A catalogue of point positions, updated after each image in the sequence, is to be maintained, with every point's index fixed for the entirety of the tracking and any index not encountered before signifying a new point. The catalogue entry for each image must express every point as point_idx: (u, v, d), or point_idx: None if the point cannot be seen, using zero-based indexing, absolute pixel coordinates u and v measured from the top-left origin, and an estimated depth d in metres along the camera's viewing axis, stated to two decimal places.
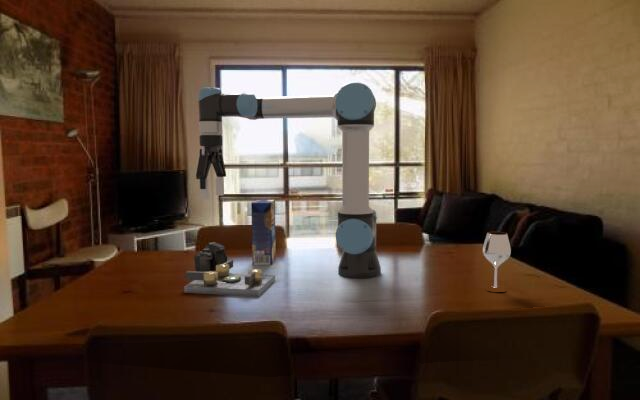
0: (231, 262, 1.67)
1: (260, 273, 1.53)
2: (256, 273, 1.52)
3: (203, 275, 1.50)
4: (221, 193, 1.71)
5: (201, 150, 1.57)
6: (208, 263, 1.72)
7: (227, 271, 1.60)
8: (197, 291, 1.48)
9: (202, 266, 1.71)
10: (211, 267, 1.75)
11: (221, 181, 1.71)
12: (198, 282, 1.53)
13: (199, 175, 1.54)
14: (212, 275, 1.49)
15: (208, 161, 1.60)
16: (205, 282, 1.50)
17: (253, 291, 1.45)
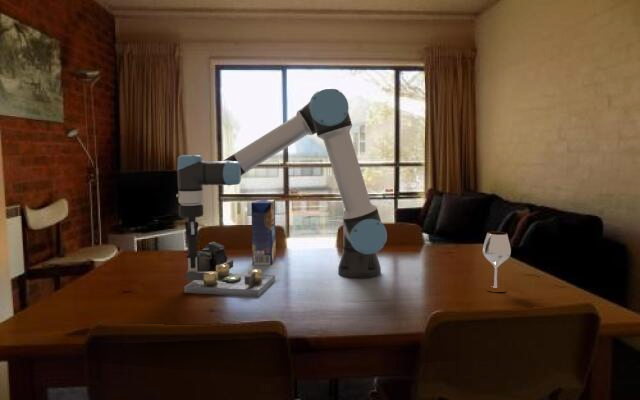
0: (231, 262, 1.67)
1: (260, 273, 1.53)
2: (256, 273, 1.52)
3: (203, 275, 1.50)
4: None
5: (190, 231, 1.47)
6: (208, 263, 1.72)
7: (227, 271, 1.60)
8: (197, 291, 1.48)
9: (202, 266, 1.72)
10: (211, 267, 1.75)
11: None
12: (198, 282, 1.53)
13: (192, 255, 1.50)
14: (212, 275, 1.49)
15: None
16: (205, 282, 1.50)
17: (253, 291, 1.45)
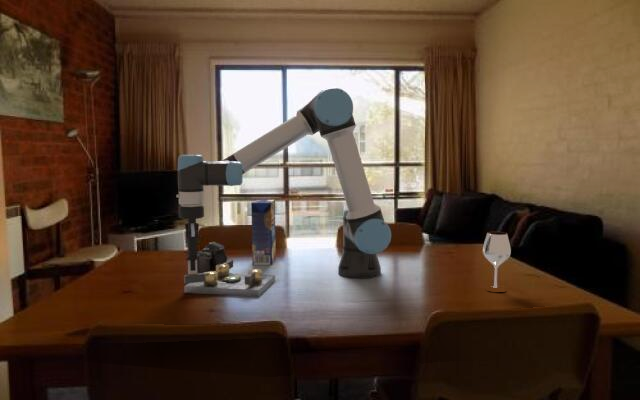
0: (231, 262, 1.67)
1: (260, 273, 1.53)
2: (256, 273, 1.52)
3: (205, 276, 1.49)
4: None
5: (191, 233, 1.43)
6: (207, 263, 1.72)
7: (227, 271, 1.60)
8: (197, 291, 1.48)
9: (202, 266, 1.72)
10: (211, 267, 1.75)
11: None
12: (198, 282, 1.53)
13: (192, 257, 1.46)
14: (216, 274, 1.50)
15: None
16: (209, 282, 1.49)
17: (253, 291, 1.45)
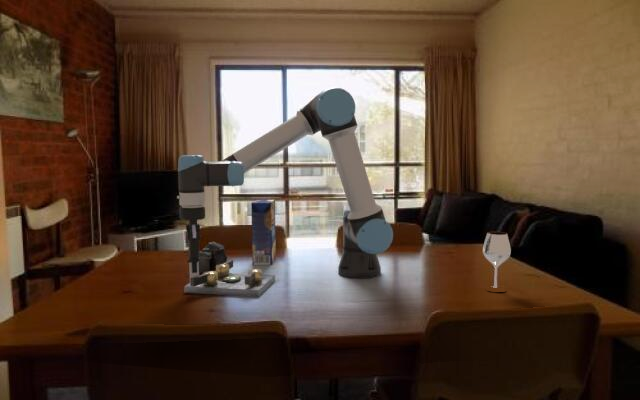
0: (231, 262, 1.67)
1: (260, 273, 1.53)
2: (256, 273, 1.52)
3: (209, 276, 1.49)
4: None
5: (192, 235, 1.41)
6: (207, 263, 1.72)
7: (227, 271, 1.60)
8: (197, 291, 1.48)
9: (201, 266, 1.72)
10: (211, 267, 1.76)
11: None
12: None
13: (194, 259, 1.44)
14: (217, 273, 1.52)
15: None
16: (213, 282, 1.50)
17: (253, 291, 1.45)
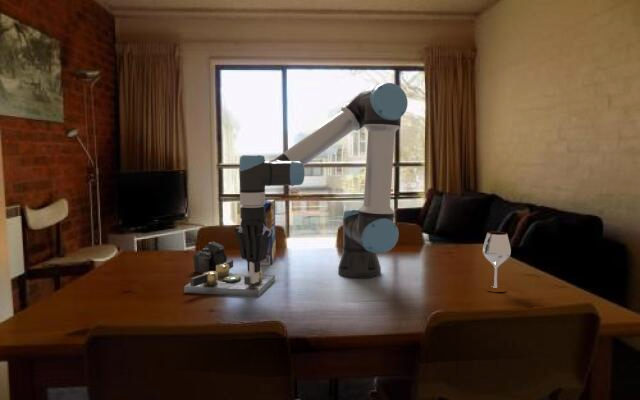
0: (231, 262, 1.67)
1: (260, 273, 1.53)
2: None
3: (209, 276, 1.49)
4: None
5: None
6: (207, 263, 1.72)
7: (227, 271, 1.60)
8: (197, 291, 1.48)
9: (201, 266, 1.72)
10: (210, 267, 1.76)
11: None
12: None
13: None
14: (217, 273, 1.52)
15: None
16: (213, 282, 1.50)
17: (253, 291, 1.45)
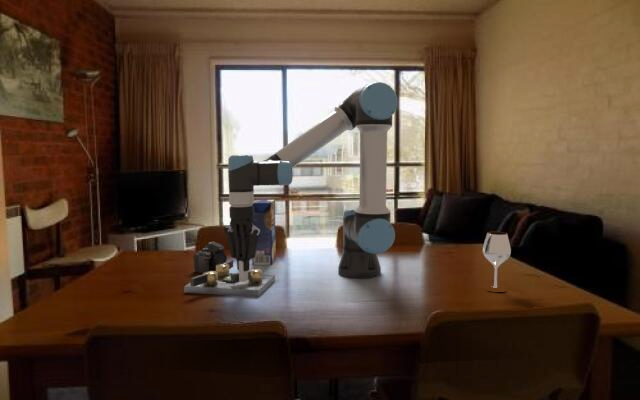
0: (231, 262, 1.67)
1: (255, 274, 1.52)
2: (251, 273, 1.52)
3: (209, 276, 1.49)
4: None
5: None
6: (207, 262, 1.73)
7: (227, 271, 1.60)
8: (197, 291, 1.48)
9: (201, 266, 1.72)
10: (210, 267, 1.76)
11: None
12: None
13: None
14: (217, 273, 1.52)
15: None
16: (213, 282, 1.50)
17: (253, 291, 1.45)
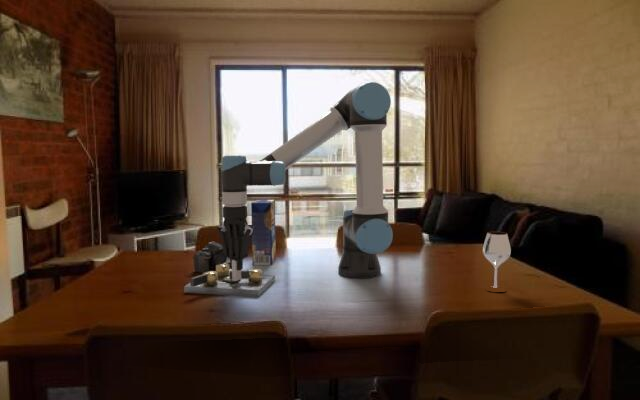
0: None
1: (252, 274, 1.52)
2: (248, 272, 1.52)
3: (209, 276, 1.49)
4: None
5: None
6: (207, 262, 1.73)
7: (227, 271, 1.60)
8: (197, 291, 1.48)
9: (201, 266, 1.72)
10: (210, 266, 1.76)
11: None
12: None
13: None
14: (217, 273, 1.52)
15: None
16: (213, 282, 1.50)
17: (253, 291, 1.45)
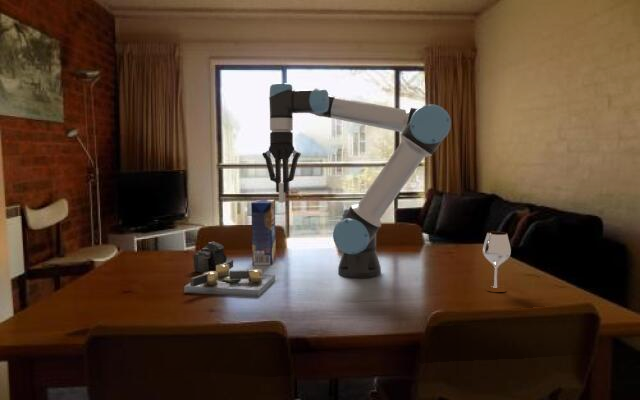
0: (231, 262, 1.67)
1: (252, 274, 1.52)
2: (248, 272, 1.52)
3: (209, 276, 1.49)
4: None
5: None
6: (206, 262, 1.73)
7: (227, 271, 1.60)
8: (197, 291, 1.48)
9: (200, 265, 1.73)
10: (210, 266, 1.76)
11: None
12: None
13: None
14: (217, 273, 1.52)
15: None
16: (213, 282, 1.50)
17: (253, 291, 1.45)
